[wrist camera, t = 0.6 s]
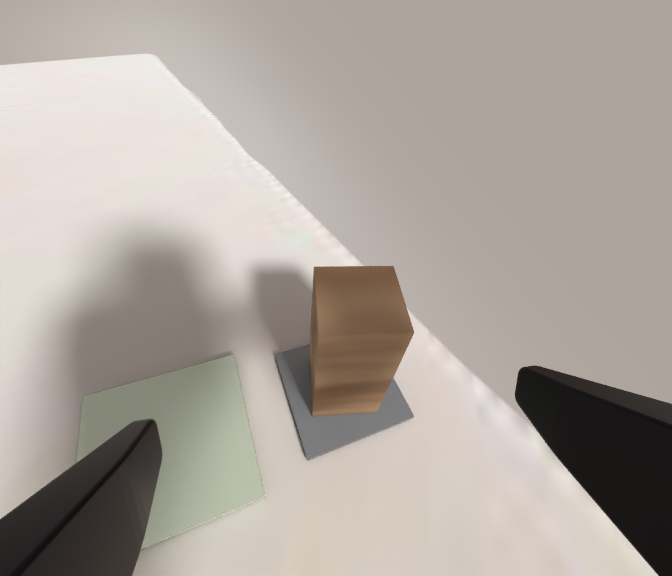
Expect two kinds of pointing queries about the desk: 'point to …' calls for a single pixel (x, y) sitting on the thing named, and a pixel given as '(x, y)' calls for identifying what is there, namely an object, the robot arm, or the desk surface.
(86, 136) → the desk surface
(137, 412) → the sage plate
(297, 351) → the slate tile
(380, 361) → the walnut block
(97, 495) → the robot arm
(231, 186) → the desk surface
